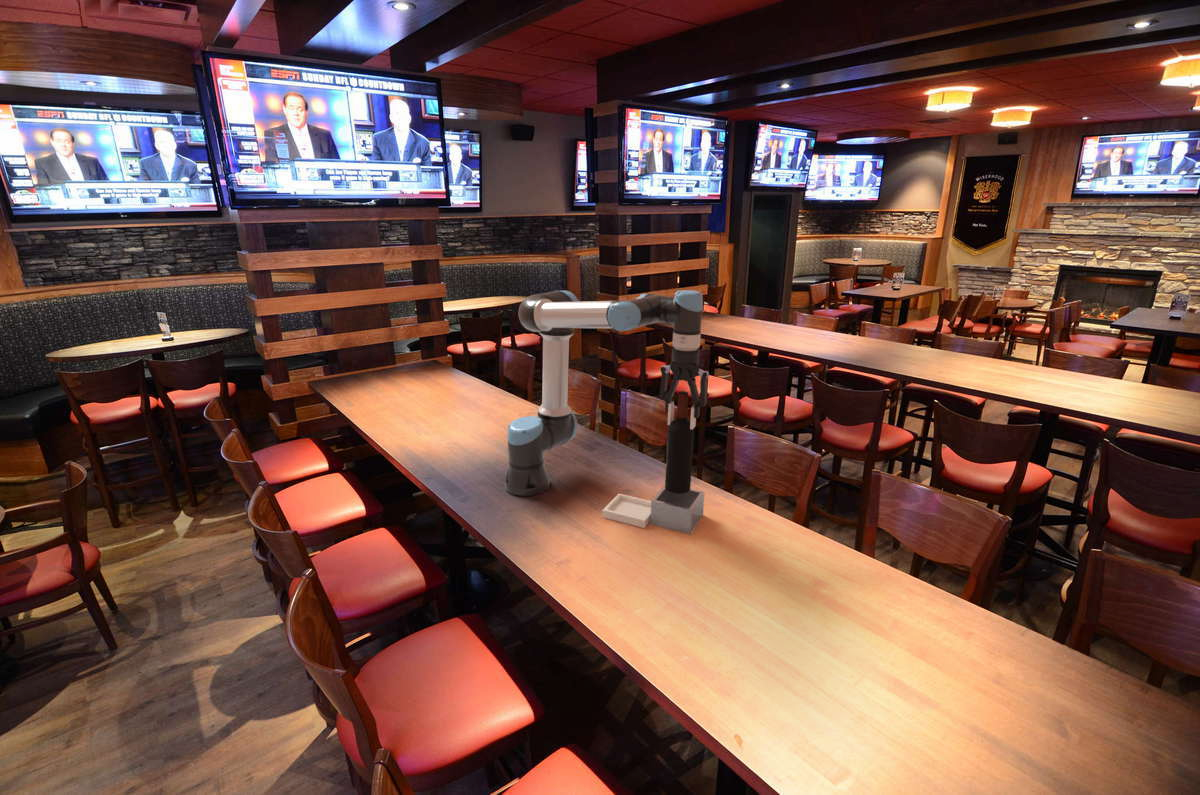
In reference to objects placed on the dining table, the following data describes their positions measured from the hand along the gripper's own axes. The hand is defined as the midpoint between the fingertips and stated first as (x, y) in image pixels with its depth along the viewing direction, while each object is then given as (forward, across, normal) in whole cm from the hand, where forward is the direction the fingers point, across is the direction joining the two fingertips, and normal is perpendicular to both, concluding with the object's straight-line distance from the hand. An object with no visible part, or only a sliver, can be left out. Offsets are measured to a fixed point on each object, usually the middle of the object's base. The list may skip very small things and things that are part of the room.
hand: (681, 425), depth 166 cm
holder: (+31, 0, 0) cm, 31 cm away
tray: (+31, -14, -3) cm, 34 cm away
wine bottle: (+20, 0, 0) cm, 20 cm away
